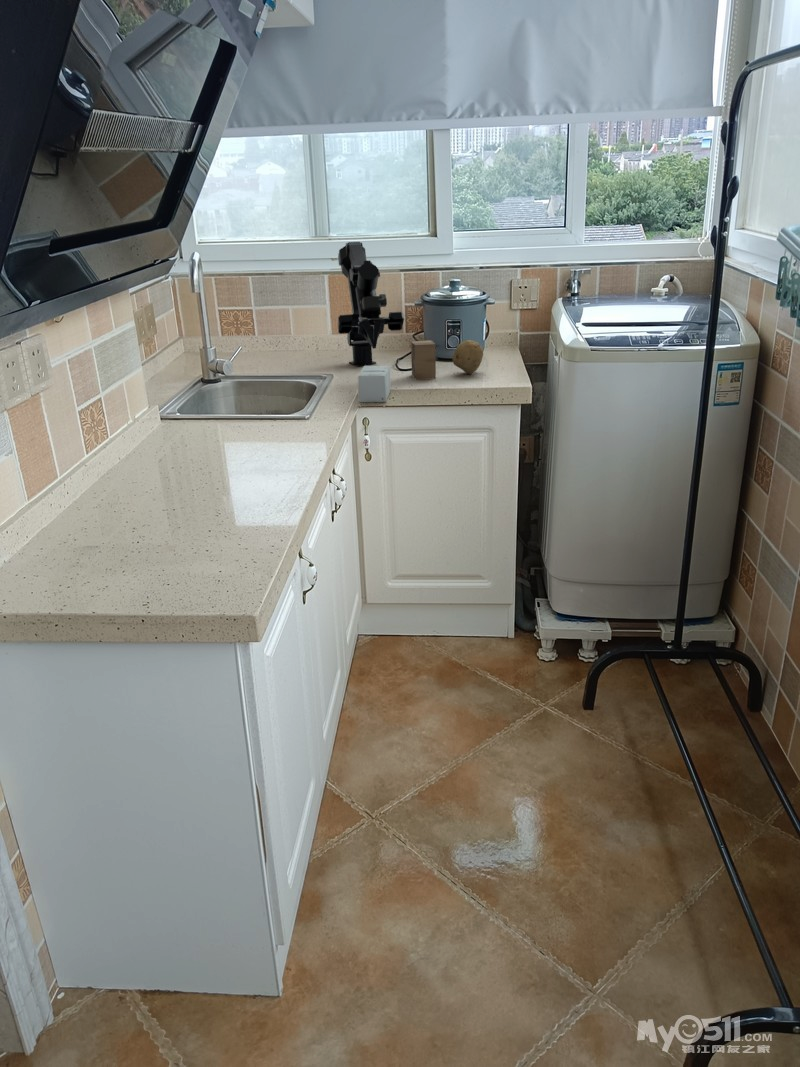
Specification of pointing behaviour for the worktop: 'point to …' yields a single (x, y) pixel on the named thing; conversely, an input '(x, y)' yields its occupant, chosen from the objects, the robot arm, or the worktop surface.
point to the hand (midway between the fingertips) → (374, 347)
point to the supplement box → (374, 384)
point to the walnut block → (423, 359)
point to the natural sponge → (468, 356)
